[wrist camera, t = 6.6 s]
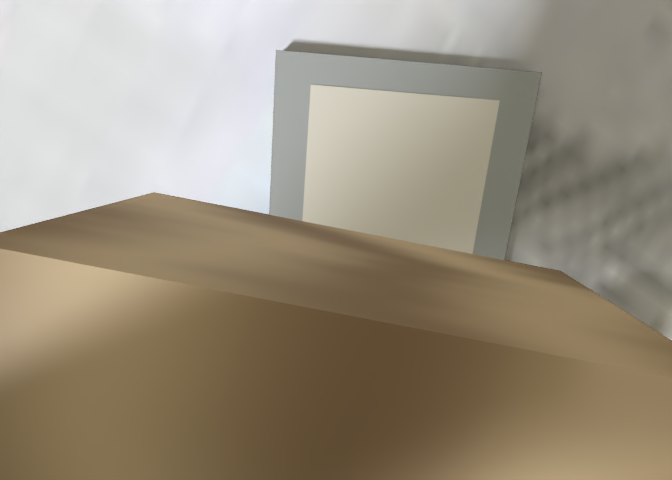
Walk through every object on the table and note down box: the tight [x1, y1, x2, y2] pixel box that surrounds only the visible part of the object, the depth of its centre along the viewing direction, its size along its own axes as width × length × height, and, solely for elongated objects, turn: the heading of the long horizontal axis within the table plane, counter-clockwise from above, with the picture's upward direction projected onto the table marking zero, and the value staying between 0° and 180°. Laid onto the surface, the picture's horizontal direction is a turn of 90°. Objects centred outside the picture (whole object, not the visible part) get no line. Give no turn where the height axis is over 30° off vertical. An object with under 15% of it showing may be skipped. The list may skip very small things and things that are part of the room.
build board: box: [269, 50, 542, 260], centre depth 28 cm, size 18×18×1 cm
